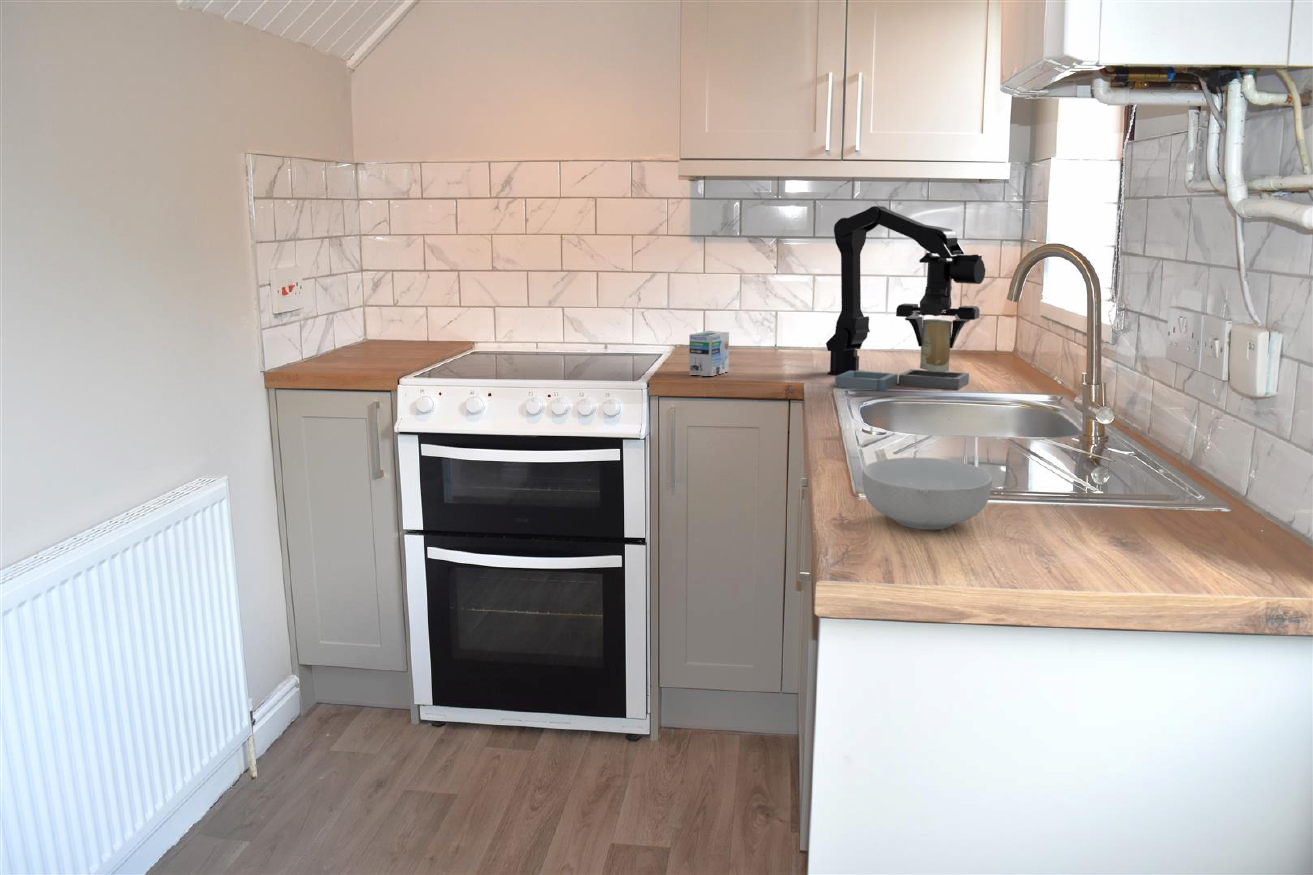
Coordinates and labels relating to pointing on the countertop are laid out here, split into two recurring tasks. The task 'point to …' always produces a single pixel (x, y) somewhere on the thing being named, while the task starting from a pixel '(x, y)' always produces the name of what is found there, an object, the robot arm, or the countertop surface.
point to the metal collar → (934, 379)
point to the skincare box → (935, 345)
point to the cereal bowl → (926, 491)
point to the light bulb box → (709, 353)
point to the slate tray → (866, 380)
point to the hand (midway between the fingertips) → (935, 347)
